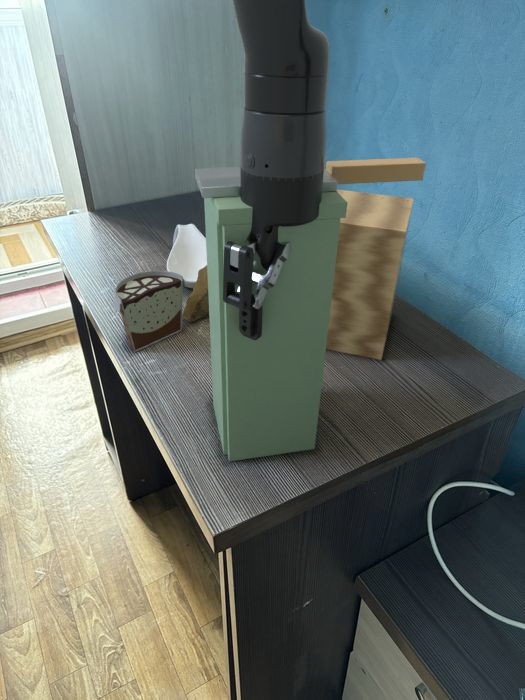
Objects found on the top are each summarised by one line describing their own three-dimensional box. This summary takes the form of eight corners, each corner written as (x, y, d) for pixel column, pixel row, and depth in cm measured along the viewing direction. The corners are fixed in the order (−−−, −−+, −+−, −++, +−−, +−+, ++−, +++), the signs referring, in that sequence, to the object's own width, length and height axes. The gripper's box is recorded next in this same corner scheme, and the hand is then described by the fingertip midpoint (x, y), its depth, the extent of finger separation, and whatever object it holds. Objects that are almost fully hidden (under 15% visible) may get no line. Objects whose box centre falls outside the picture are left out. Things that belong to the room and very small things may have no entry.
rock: (187, 322, 85) (243, 304, 88) (170, 272, 85) (227, 256, 87) (181, 327, 96) (231, 311, 98) (166, 283, 96) (217, 268, 98)
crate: (391, 316, 93) (414, 198, 80) (381, 360, 82) (406, 231, 69) (304, 301, 97) (313, 186, 84) (284, 341, 86) (291, 215, 73)
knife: (406, 169, 56) (409, 152, 55) (432, 186, 52) (436, 168, 51) (195, 178, 52) (194, 160, 51) (202, 198, 47) (201, 178, 46)
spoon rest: (235, 292, 99) (234, 258, 94) (173, 300, 96) (170, 265, 91) (208, 243, 117) (206, 212, 113) (155, 248, 114) (152, 217, 110)
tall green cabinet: (293, 389, 75) (310, 165, 57) (318, 448, 66) (347, 202, 47) (212, 399, 73) (201, 169, 55) (225, 462, 64) (218, 209, 45)
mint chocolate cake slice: (167, 313, 92) (162, 262, 86) (189, 327, 88) (185, 274, 83) (105, 340, 85) (95, 285, 79) (126, 356, 81) (117, 300, 75)
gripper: (269, 188, 40) (264, 362, 49) (357, 156, 49) (339, 306, 58) (197, 171, 43) (204, 336, 52) (291, 144, 53) (284, 287, 62)
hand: (275, 320), depth 55 cm, fingers open, 8 cm apart
